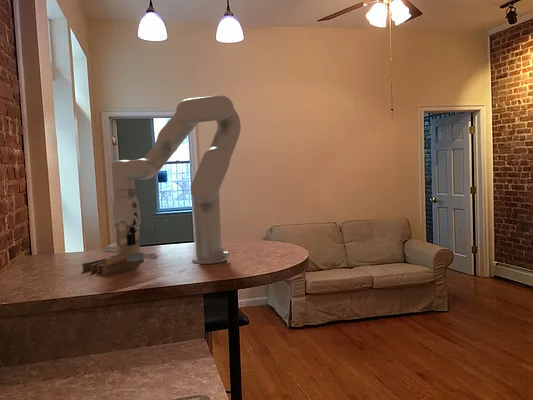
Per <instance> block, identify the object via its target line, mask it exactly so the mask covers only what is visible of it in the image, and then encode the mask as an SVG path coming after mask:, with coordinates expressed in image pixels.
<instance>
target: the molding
mask: <svg viewBox="0 0 533 400" xmlns="http://www.w3.org/2000/svg"><path fill="white" fill-rule="evenodd" d="M106 252H107V253H117V243H116V242H115V243H112V244H109V245H107V246H106V247H105V248H104V249H102V253H106ZM143 254H144V259H146V260H149V259H150V260H154V259H156V258H158V257H159V255H158V254H156V253H155V252H143Z"/></svg>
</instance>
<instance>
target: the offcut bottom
mask: <svg viewBox="0 0 533 400" xmlns="http://www.w3.org/2000/svg"><path fill="white" fill-rule="evenodd" d="M106 267H107V266H102V274H107V268H106Z"/></svg>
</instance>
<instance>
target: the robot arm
mask: <svg viewBox="0 0 533 400" xmlns="http://www.w3.org/2000/svg"><path fill="white" fill-rule="evenodd" d="M213 121H214V122H216V124H217V126H216V131H215V133H214V136H213V138H212V140H211V144H210V146H209V148H208V149H207V150H206V151H205V152H204V153H203V156H202V158H201V160H200V163H199V165H198V168H197V169H196V172H195V175H194V178H193V179H192V183H191V186H190V194H191V196H192V198H193V199H192V200H193V220H194V223H193V224H194V239H195V242H194V243H195V255H196V256H194V257H192V259H191V262H192V263H194V264H196V265H197V264H199V265H208V264H209V265H212V264H213V265H214V264H217V263H222V262H225V261H226V260H227V259H228V257H230V252H229V251H225V248H224V247H222V228H221V227H222V226H221V206H220V204H221V203H220V189H221V186H222V184H223V181H224V179H225V176H226V174H227V172H228V170H229V167H230V165H231V164H230V163H231V159H232V155H233V153H234V151H235V149H236V145H237V143H238V140H239V137H240V134H241V130H242V129H241V128H242V127H241V120H240V116H239V114H238V112H237V111H236V109H235V107H234V103H233V102H232V100H231V99H230V98H229V97H228V96H226V95H221V94H217V95H211V96H210V95H209V96H202V97H201V96H200V97H194V98H193V97H192V98H187V99H183V100H181V101H180V102H179V103H178V104H177V106H176V108H175V113H174V114H173V115H172V116H171V118H170V119H169V120H168V121H167V122H166V123H165V125H164V126H163V127H162V128H161V129H160V130H159V132H158V134H157V137H156V140H155V142H154V144H153V146H152V148H151V149H150V150H149V151H148V152H147V153H146V155H145V156H144V157H143V158H138V159H134V160H133V159H131V160H129V159H123V160H122V159H119V160H113V161H112V163H111V176H112V177H111V178H112V188H113V189H112V190H113V201H112V202H113V203H112V214H113V215H112V217H113V226H114V228H116V223H125V226H127V230H128V234H129V235H127V243H128V246H130V245H135V244H136V241H135V234H136V231H137V229H138V228H139V229H140V228H141V223H142V221H141V220H142V219H141V218H142V217H141V216H142V215H141V210H140V204H139V200H138V197H137V196H136V185H135V184H136V183H135V180H141V181H142V180H143V181H144V180H148V179H153V178H154V177H155V176H156V175H157V174H158V173H159V172H160V170H161V169H162V168H163V167H164V166H165V165H166V163H167V162H169V160H170V158H171V157H172V156H173V154H174V153H175V152H176V151H177V149H178V148H179V147H180V145H181V144H182V143H183V142H184V140H186V138H187V137H188V136H190V135H189V134H190V133H191V132H192V131H193V130H194V129H195V127H196V126H197V125H198V124H199V123H206V122H213ZM131 227H132V228H131Z"/></svg>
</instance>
